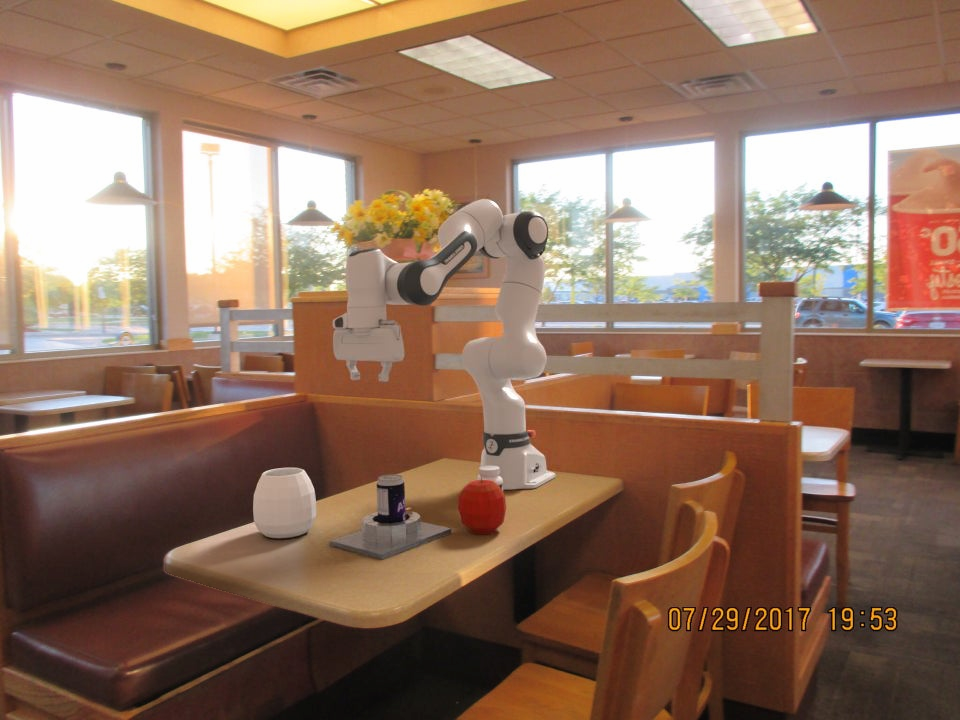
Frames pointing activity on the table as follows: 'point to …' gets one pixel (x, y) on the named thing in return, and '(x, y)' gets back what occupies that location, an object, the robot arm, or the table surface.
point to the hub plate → (388, 548)
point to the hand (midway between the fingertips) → (369, 380)
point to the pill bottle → (490, 474)
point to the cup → (284, 503)
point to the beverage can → (391, 499)
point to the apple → (482, 506)
